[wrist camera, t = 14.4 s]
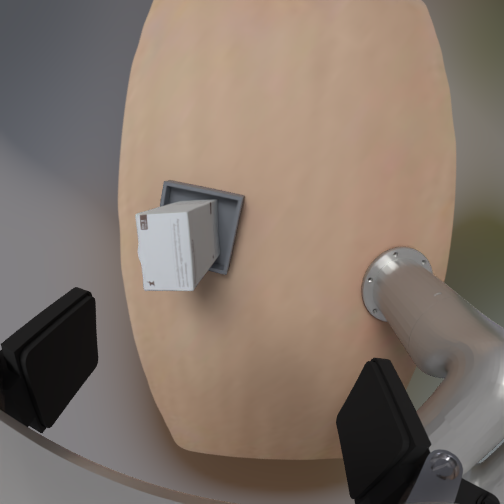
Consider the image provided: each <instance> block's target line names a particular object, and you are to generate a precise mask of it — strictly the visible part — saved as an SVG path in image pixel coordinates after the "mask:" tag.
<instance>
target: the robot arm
mask: <svg viewBox="0 0 504 504" xmlns="http://www.w3.org/2000/svg"><path fill="white" fill-rule="evenodd" d="M394 252H395V254H394ZM368 278H370V279H368ZM362 298H363V301H364V304H365V306H366V308H367V309H368V311H369V312H370V313H371V314H372V315H373V316H374V317H376V318H377V319H379V320H382V321H386V322H388V323H389V324H390V326H391V327H392V329H393V330H394V332H395V333H396V335H397V337H398V338H399V340H400V341H401V343H402V344H403V346H404V347H405V349H406V350H407V352H408V354H409V355H410V357H411V358H412V360H413V361H414V363H415V364H416V366H417V367H418V368H419V369H420V370H421V371H423V372H424V373H426V374H428V375H430V376H433V377H438V378H445V379H444V380H443V381H442V383H441V384H440V385H439V386H438V387H437V389H436V390H435V392H434V393H433V394H432V395H431V396H430V397H429V398H428V400H427V401H426V402H425V403H424V404H423V405H422V406H421V407H420V408H419V409H418V410H417V411H416V410H415V408H414V406H413V404H412V402H411V400H410V398H409V396H408V394H407V392H406V390H405V388H404V386H403V384H402V382H401V380H400V378H399V376H398V374H397V372H396V371H395V369H394V367H393V365H392V363H391V361H390V360H388V359H381V358H373V359H372V360H371V361H368V362H366V364H365V366H364V368H363V370H362V372H361V373H360V375H359V377H358V379H357V381H356V383H355V385H354V387H353V389H352V390H351V392H350V394H349V396H348V398H347V400H346V401H345V403H344V405H343V407H342V408H341V410H340V412H339V413H338V416H337V420H336V424H337V429H338V434H339V439H340V444H341V449H342V454H343V459H344V465H345V470H346V476H347V482H348V487H349V492H350V497H351V498H352V499H355V504H504V442H503V443H502V445H501V446H499V448H497V449H496V450H495V451H494V452H493V453H492V454H491V455H490V456H489V457H488V458H487V459H486V460H484V461H483V462H481V463H478V462H479V461H480V460H481V459H482V458H484V457H485V456H486V455H487V454H488V453H489V452H490V451H491V450H493V449H494V448H495V447H496V446H497V445H498V444H499V443H500V442H501V441H502V440H503V439H504V328H503V327H501V326H500V325H498V324H496V323H495V322H493V321H492V320H490V319H489V318H488V317H486V316H485V315H483V314H482V313H481V312H480V311H478V310H477V309H476V308H475V307H473V306H472V305H471V304H470V303H468V302H467V301H466V300H464V298H462V297H461V296H460V295H459V294H457V293H456V292H455V291H454V290H452V289H451V288H450V287H449V286H447V285H446V284H445V283H444V282H442V281H441V280H440V279H438V278H437V277H436V276H435V275H433V273H432V268H431V265H430V263H429V261H428V260H427V258H426V257H425V256H424V255H423V254H422V253H420V252H419V251H417V250H415V249H413V248H410V247H395V248H392V249H389V250H387V251H385V252H384V253H382V254H381V255H379V256H378V257H377V258H376V259H375V260H374V261H373V262H372V263H371V265H370V266H369V268H368V270H367V271H366V274H365V276H364V279H363V283H362ZM95 307H96V306H95V298H94V297H92V294H91V292H89V291H86V290H83V289H81V288H78V287H75V288H73V289H72V290H71V291H69V292H68V293H67V294H65V295H64V296H63V297H61V298H60V299H58V300H57V301H55V302H54V303H53V304H51V305H50V306H49V307H47V308H46V309H45V310H43V311H42V312H41V313H39V314H38V315H37V316H36V317H34V318H33V319H32V320H30V321H29V322H28V323H27V324H25V325H24V326H23V327H22V328H20V329H19V330H18V331H16V332H15V333H14V334H13V335H11V336H10V337H9V338H8V339H6V340H5V341H4V342H3V343H2V344H1V346H2V350H1V351H0V504H237V503H231V502H225V501H219V500H214V499H208V498H204V497H199V496H195V495H190V494H186V493H182V492H178V491H175V490H171V489H167V488H164V487H160V486H157V485H154V484H151V483H147V482H144V481H141V480H139V479H136V478H133V477H130V476H127V475H125V474H122V473H119V472H117V471H114V470H112V469H109V468H107V467H104V466H102V465H100V464H97V463H95V462H93V461H90V460H88V459H86V458H84V457H82V456H80V455H78V454H76V453H73V452H71V451H69V450H68V449H65V448H64V447H62V446H60V445H58V444H56V443H54V442H52V441H51V440H49V439H47V438H45V437H43V436H42V435H40V434H38V433H36V432H35V431H33V430H31V429H30V428H28V426H30V427H32V428H34V429H35V430H37V431H38V432H40V433H43V431H44V430H45V429H46V428H50V427H52V425H53V424H54V423H55V421H56V420H57V419H58V417H59V416H60V414H61V413H62V412H63V410H64V409H65V408H66V406H67V405H68V404H69V402H70V400H71V399H72V398H73V397H74V395H75V394H76V393H77V391H78V390H79V389H80V387H81V386H82V385H83V384H84V382H85V381H86V380H87V378H88V377H89V376H90V374H91V373H92V372H93V371H94V369H95V368H96V366H97V363H98V349H97V336H96V335H97V334H96V308H95ZM373 309H374V310H373Z"/></svg>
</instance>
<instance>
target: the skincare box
mask: <svg viewBox="0 0 504 504" xmlns="http://www.w3.org/2000/svg"><path fill="white" fill-rule="evenodd" d="M135 216H136V225H137V233H138V242H139V245H138V256H139V260H140V262H141V266H142V273H143V287H144V290H145V291H193V290H194V289H195V287H196V286H197V284H198V283H199V282H200V280H201V279H202V278H203V276H204V275H205V274H206V272H207V271H208V270H209V268H210V267H211V266H212V264H213V263H214V262H215V260H216V259H217V258H218V256H219V255H220V246H219V234H218V200H217V199H210V200H190V201H179V202H175V203H172V204H168V205H165V206H161V207H158V208H154V209H151V210H148V211H144V212H141V213H137V214H136V215H135Z"/></svg>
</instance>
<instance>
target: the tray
mask: <svg viewBox="0 0 504 504" xmlns="http://www.w3.org/2000/svg"><path fill="white" fill-rule="evenodd" d="M210 199H217V200H218V234H219V246H220V255H219V256H218V258H217V259H216V260H215V262H214V263H213V264H212V266H211V267H210V268H209V270H208V271H212V272H217V273H221V274H225V275H226V274H227V272H228V269H229V265H230V260H231V256H232V251H233V246H234V242H235V237H236V232H237V228H238V223H239V218H240V214H241V209H242V205H243V200H244V195H240V194H235V193H231V192H226V191H222V190H217V189H212V188H207V187H202V186H197V185H192V184H187V183H182V182H177V181H172V180H169V181H164V184H163V190H162V196H161V202H160V207H161V206H165V205H168V204H172V203H175V202H179V201H190V200H210Z"/></svg>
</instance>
